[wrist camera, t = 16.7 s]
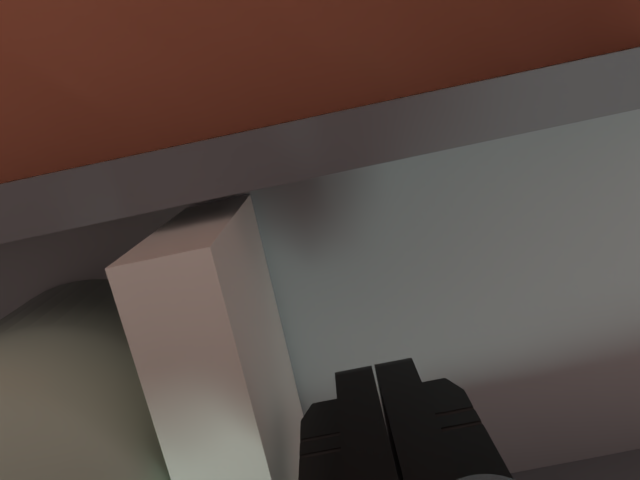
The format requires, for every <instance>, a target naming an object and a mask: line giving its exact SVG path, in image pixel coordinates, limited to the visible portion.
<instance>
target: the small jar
mask: <svg viewBox="0 0 640 480" xmlns="http://www.w3.org/2000/svg"><path fill="white" fill-rule="evenodd" d="M0 480H171V478H170V475H169V472H168V469H167V466H166V462H165V459H164V456H163V453H162V450H161V447H160V443H159V440H158V437H157V434H156V431H155V427H154V424H153V421H152V418H151V415H150V411H149V408H148V405H147V402H146V399H145V395H144V392H143V389H142V386H141V383H140V380H139V376H138V373H137V370H136V367H135V364H134V360H133V357H132V354H131V351H130V348H129V344H128V341H127V338H126V335H125V332H124V329H123V325H122V322H121V319H120V316H119V313H118V309H117V306H116V303H115V300H114V297H113V293H112V290H111V287H110V284H109V281H108V279H89V280H81V281H74V282H70V283H66V284H62V285H59V286H56V287H54V288H51V289H49V290H47V291H44V292H43V293H41V294H39V295H37V296H36V297H34V298H32V299H31V300H29V301H28V302H26V303H25V304H23V305H22V306H20V307H19V308H17V309H16V310H14V311H13V312H11V313H10V314H8V315H7V316H5V317H4V318H2V319H1V320H0Z"/></svg>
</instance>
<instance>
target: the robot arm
mask: <svg viewBox="0 0 640 480" xmlns="http://www.w3.org/2000/svg"><path fill="white" fill-rule="evenodd" d="M375 371H376V376H377V381H378V386H379V392H380V397H381V402H382V407H383V412H384V416H383V412H382V408H381V403H380V399H379V395H378V391H377V387H376V382H375V378H374V374H373V370H372V366H365V367H360V368H355V369H350V370H345V371H339V372H335V382H336V394H337V399H332V400H327V401H322V402H317V403H312V404H311V406H310V407H309V409H308V410H307V412H306V414H305V415H304V417H303V418H302V420H301V425H300V451H299V455H300V459H299V477H298V480H515V479H513V477H512V475H511V474H510V472H509V470H508V468H507V466H506V464H505V463H504V461H503V459H502V457H501V455H500V454H499V452H498V450H497V448H496V446H495V445H494V443H493V441H492V439H491V437H490V436H489V434H488V432H487V430H486V428H485V427H484V425H483V424H482V422H481V419H480V418H479V416H478V414H477V412H476V410H474V408H473V405H472V403H471V401H470V400H469V398H468V396H467V394H466V392H465V390H464V389H462V388H461V387H459V386H457V385H456V384H454V383H453V382H451V381H450V380H448V379H446V378H441V379H436V380H431V381H426V382H422V381H421V379H420V376H419V374H418V371H417V369H416V367H415V364H414V362H413V359H412V358H406V359H401V360H396V361H391V362H385V363H380V364H375ZM384 417H385V420H384ZM385 422H386V425H385ZM386 427H387V429H386ZM387 432H388V433H387Z"/></svg>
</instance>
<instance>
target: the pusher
mask: <svg viewBox="0 0 640 480" xmlns="http://www.w3.org/2000/svg"><path fill="white" fill-rule="evenodd" d="M105 271H106V274H107V277H108V281H109V284H110V287H111V290H112V293H113V297H114V300H115V303H116V306H117V309H118V313H119V316H120V319H121V322H122V325H123V329H124V332H125V335H126V338H127V341H128V344H129V348H130V351H131V354H132V357H133V360H134V364H135V367H136V370H137V373H138V376H139V380H140V383H141V386H142V389H143V392H144V395H145V399H146V402H147V405H148V408H149V411H150V415H151V418H152V421H153V424H154V427H155V431H156V434H157V437H158V440H159V443H160V447H161V450H162V453H163V456H164V459H165V462H166V466H167V469H168V472H169V475H170V478H171V480H298V477H299V459H300V455H299V451H300V425H301V420H302V418H303V417H304V416H303V412H302V408H301V404H300V400H299V396H298V391H297V387H296V383H295V379H294V375H293V371H292V366H291V362H290V358H289V354H288V350H287V346H286V342H285V337H284V333H283V329H282V325H281V321H280V317H279V312H278V308H277V304H276V300H275V296H274V292H273V287H272V283H271V279H270V275H269V271H268V267H267V263H266V258H265V254H264V250H263V246H262V242H261V238H260V233H259V229H258V225H257V221H256V217H255V213H254V209H253V204H252V200H251V196H250V195H245V196H241V197H236V198H231V199H226V200H222V201H217V202H212V203H207V204H203V205H198V206H193V207H188V208H186V209H184V210H183V211H182V212H180V213H179V214H178V215H176V216H175V217H173V218H172V219H171V220H169V221H168V222H167V223H165V224H164V225H163V226H161V227H160V228H159V229H157V230H156V231H155V232H153V233H152V234H151V235H149V236H148V237H147V238H145V239H144V240H143V241H141V242H140V243H139V244H137V245H136V246H135V247H133V248H132V249H131V250H129V251H128V252H127V253H125V254H124V255H122V256H121V257H120V258H118V259H117V260H116V261H114V262H113V263H112V264H110V265H109V266H108V267H106V268H105Z"/></svg>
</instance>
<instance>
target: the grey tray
mask: <svg viewBox="0 0 640 480" xmlns="http://www.w3.org/2000/svg"><path fill="white" fill-rule="evenodd" d="M245 195H250V196H251V200H252V204H253V209H254V213H255V217H256V221H257V225H258V229H259V233H260V238H261V242H262V246H263V250H264V254H265V258H266V263H267V267H268V271H269V275H270V279H271V283H272V287H273V292H274V296H275V300H276V304H277V308H278V312H279V317H280V321H281V325H282V329H283V333H284V337H285V342H286V346H287V350H288V354H289V358H290V362H291V366H292V371H293V375H294V379H295V383H296V387H297V391H298V396H299V400H300V404H301V408H302V412H303V416H304V415H305V414H306V412H307V410H308V409H309V407H310V406H311V404H312V403H317V402H322V401H327V400H332V399H337V394H336V382H335V372H339V371H345V370H350V369H355V368H360V367H365V366H372V370H373V374H374V378H375V382H376V387H377V391H378V395H379V399H380V403H381V408H382V412H383V407H382V402H381V397H380V392H379V386H378V381H377V376H376V371H375V364H380V363H385V362H391V361H396V360H401V359H406V358H412V359H413V362H414V364H415V367H416V369H417V371H418V374H419V376H420V379H421V381H422V382H426V381H431V380H436V379H441V378H446V379H448V380H450V381H451V382H453V383H454V384H456V385H457V386H459V387H461V388H462V389H464V390H465V392H466V394H467V396H468V398H469V400H470V401H471V403H472V405H473V408H474V410H476V412H477V414H478V416H479V418H480V419H481V422H482V424H483V425H484V427H485V428H486V430H487V432H488V434H489V436H490V437H491V439H492V441H493V443H494V445H495V446H496V448H497V450H498V452H499V454H500V455H501V457H502V459H503V461H504V463H505V464H506V466H507V468H508V470H509V472H510V474H511V475H512V477H513V479H515V480H640V47H635V48H630V49H626V50H621V51H616V52H612V53H607V54H602V55H598V56H593V57H588V58H584V59H579V60H574V61H570V62H565V63H560V64H556V65H551V66H546V67H542V68H537V69H532V70H528V71H523V72H518V73H514V74H509V75H504V76H500V77H495V78H490V79H486V80H481V81H476V82H472V83H467V84H462V85H458V86H453V87H448V88H444V89H439V90H434V91H430V92H425V93H420V94H416V95H411V96H407V97H402V98H397V99H393V100H388V101H383V102H379V103H374V104H369V105H365V106H360V107H355V108H351V109H346V110H341V111H337V112H332V113H327V114H323V115H318V116H313V117H309V118H304V119H299V120H295V121H290V122H285V123H281V124H276V125H271V126H267V127H262V128H257V129H253V130H248V131H243V132H239V133H234V134H229V135H225V136H220V137H215V138H211V139H206V140H201V141H197V142H192V143H187V144H183V145H178V146H173V147H169V148H164V149H159V150H155V151H150V152H145V153H141V154H136V155H131V156H127V157H122V158H117V159H113V160H108V161H103V162H99V163H94V164H89V165H85V166H80V167H76V168H71V169H66V170H62V171H57V172H52V173H48V174H43V175H38V176H34V177H29V178H24V179H20V180H15V181H10V182H6V183H1V184H0V320H1V319H2V318H4V317H5V316H7V315H8V314H10V313H11V312H13V311H14V310H16V309H17V308H19V307H20V306H22V305H23V304H25V303H26V302H28V301H29V300H31V299H32V298H34V297H36V296H37V295H39V294H41V293H43V292H44V291H47V290H49V289H51V288H54V287H56V286H59V285H62V284H66V283H70V282H74V281H81V280H89V279H108V277H107V274H106V271H105V268H106V267H108V266H109V265H110V264H112V263H113V262H114V261H116V260H117V259H118V258H120V257H121V256H122V255H124V254H125V253H127V252H128V251H129V250H131V249H132V248H133V247H135V246H136V245H137V244H139V243H140V242H141V241H143V240H144V239H145V238H147V237H148V236H149V235H151V234H152V233H153V232H155V231H156V230H157V229H159V228H160V227H161V226H163V225H164V224H165V223H167V222H168V221H169V220H171V219H172V218H173V217H175V216H176V215H178V214H179V213H180V212H182V211H183V210H184V209H186V208H188V207H193V206H198V205H203V204H207V203H212V202H217V201H222V200H226V199H231V198H236V197H241V196H245ZM383 416H384V412H383ZM384 420H385V417H384ZM385 425H386V422H385ZM386 429H387V427H386ZM387 433H388V432H387Z"/></svg>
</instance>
